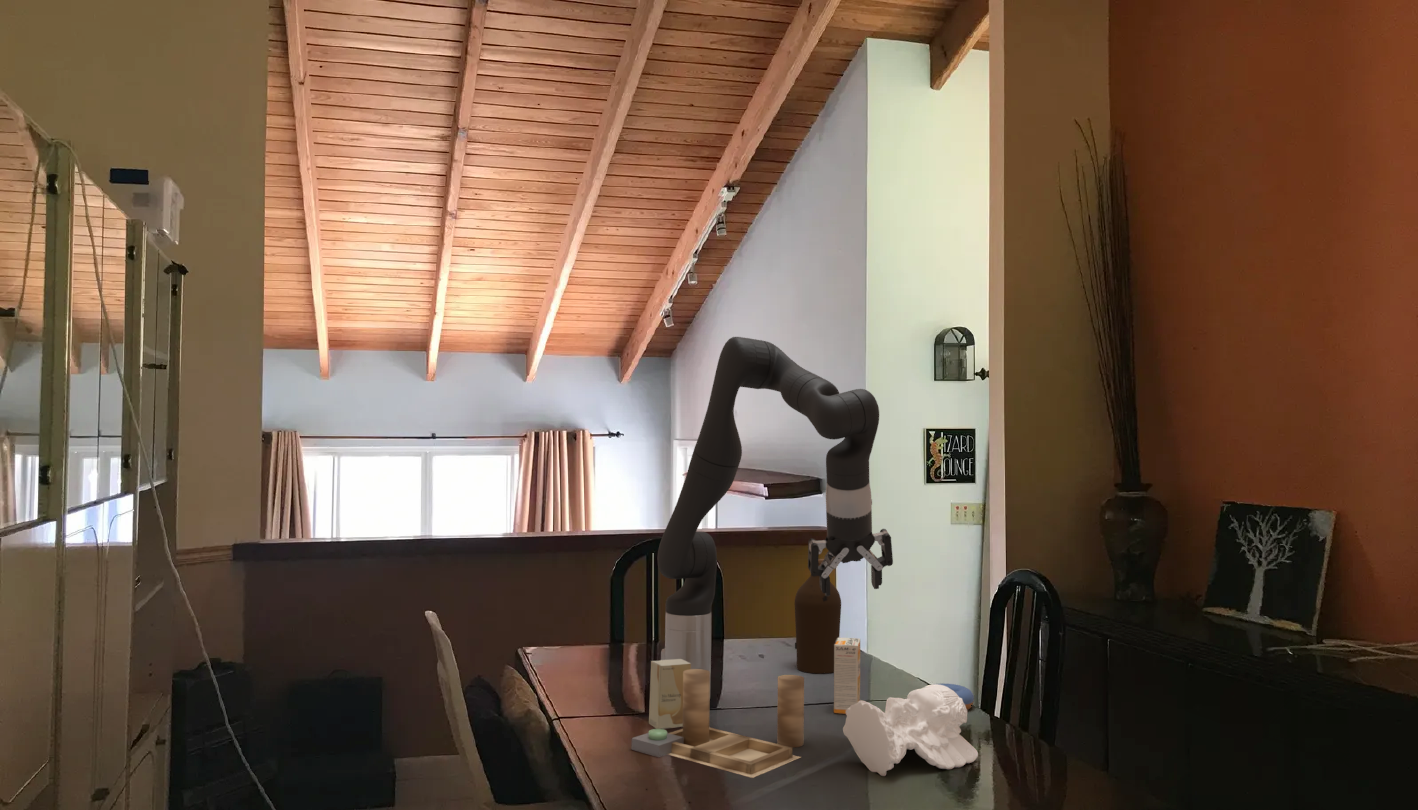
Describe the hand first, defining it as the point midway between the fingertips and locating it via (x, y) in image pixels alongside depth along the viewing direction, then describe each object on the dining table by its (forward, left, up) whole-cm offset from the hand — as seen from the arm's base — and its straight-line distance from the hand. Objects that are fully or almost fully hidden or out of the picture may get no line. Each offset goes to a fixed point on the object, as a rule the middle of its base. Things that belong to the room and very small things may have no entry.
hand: (851, 590), depth 169 cm
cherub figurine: (+12, -1, -26) cm, 29 cm away
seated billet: (-17, -21, -25) cm, 37 cm away
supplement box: (-12, +19, -26) cm, 35 cm away
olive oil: (-35, +44, -26) cm, 62 cm away
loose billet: (-6, -10, -26) cm, 28 cm away
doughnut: (+2, +34, -27) cm, 43 cm away
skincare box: (-28, -15, -26) cm, 41 cm away
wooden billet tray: (-11, -21, -26) cm, 36 cm away
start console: (-20, -27, -26) cm, 42 cm away
